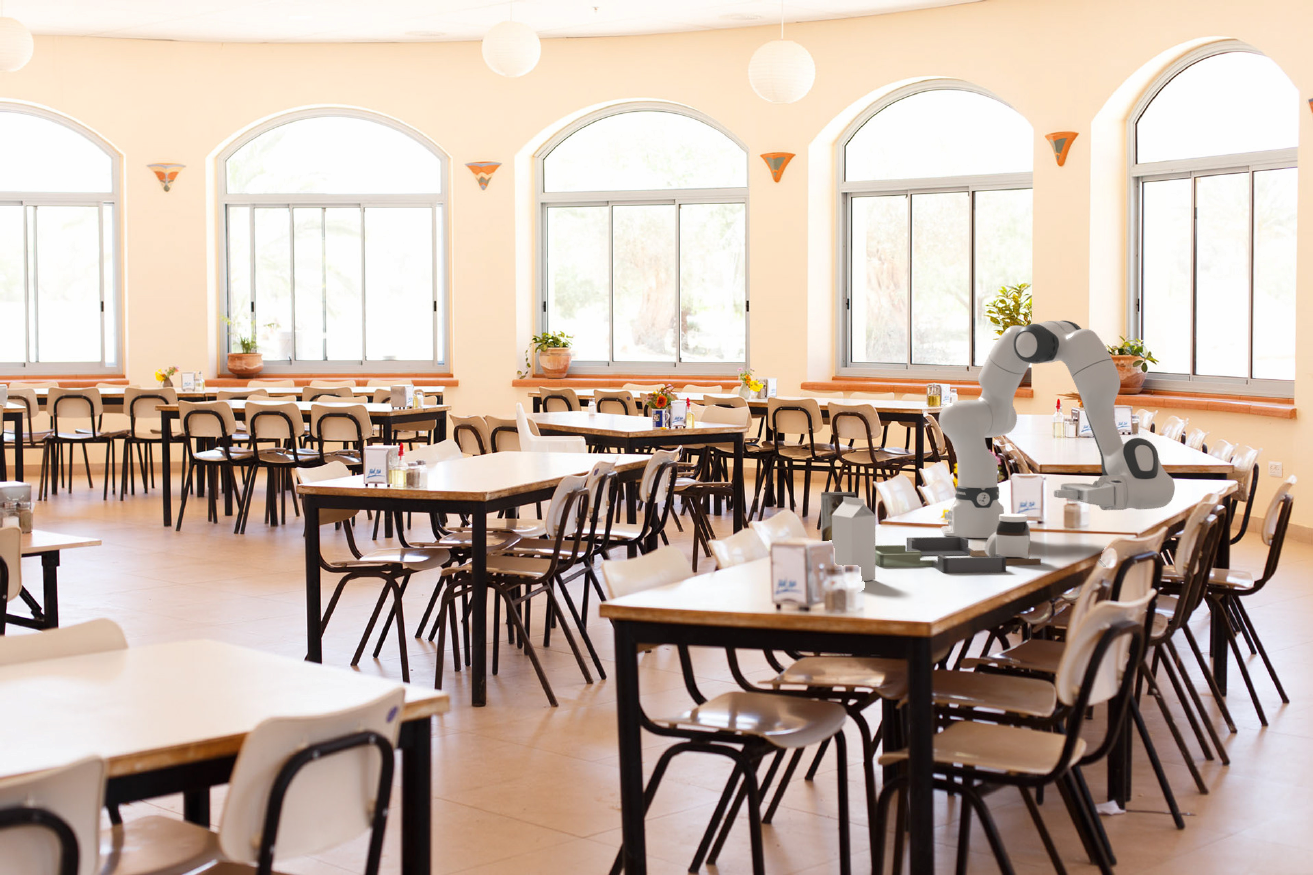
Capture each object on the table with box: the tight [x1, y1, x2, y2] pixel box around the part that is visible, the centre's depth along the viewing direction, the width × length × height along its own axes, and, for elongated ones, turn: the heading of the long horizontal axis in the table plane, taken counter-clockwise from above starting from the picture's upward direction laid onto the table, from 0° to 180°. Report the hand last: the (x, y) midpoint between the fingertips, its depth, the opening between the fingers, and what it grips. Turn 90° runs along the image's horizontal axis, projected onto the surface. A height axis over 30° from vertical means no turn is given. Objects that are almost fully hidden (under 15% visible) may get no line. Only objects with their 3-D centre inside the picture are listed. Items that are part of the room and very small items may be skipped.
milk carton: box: [832, 497, 876, 582], centre depth 303 cm, size 7×7×19 cm
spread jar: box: [984, 513, 1031, 559], centre depth 332 cm, size 12×11×12 cm
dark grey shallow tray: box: [931, 554, 1007, 574], centre depth 318 cm, size 10×15×4 cm
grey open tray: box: [906, 536, 973, 557], centre depth 344 cm, size 10×15×4 cm
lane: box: [875, 544, 1042, 568], centre depth 331 cm, size 16×40×3 cm, turn 93°
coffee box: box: [820, 491, 857, 541], centre depth 344 cm, size 9×6×16 cm
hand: (1055, 493), depth 335 cm, fingers closed
